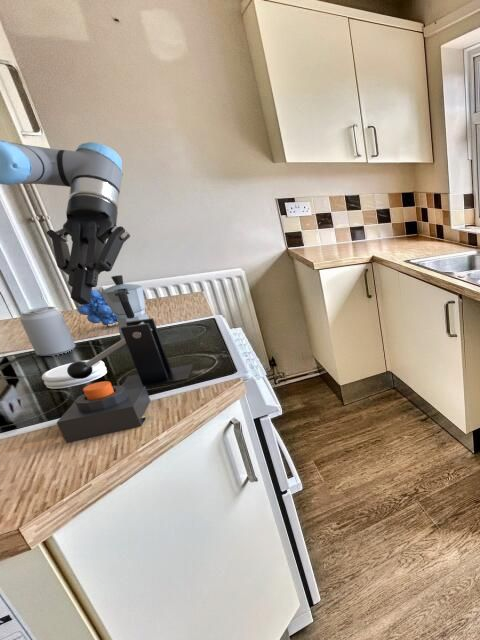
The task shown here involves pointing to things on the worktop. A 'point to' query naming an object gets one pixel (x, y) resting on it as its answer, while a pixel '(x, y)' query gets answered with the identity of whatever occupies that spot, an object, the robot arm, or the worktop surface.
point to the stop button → (98, 390)
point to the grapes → (98, 310)
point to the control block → (104, 414)
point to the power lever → (92, 362)
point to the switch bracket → (149, 357)
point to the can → (47, 331)
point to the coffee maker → (125, 302)
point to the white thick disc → (62, 379)
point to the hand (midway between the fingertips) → (80, 300)
